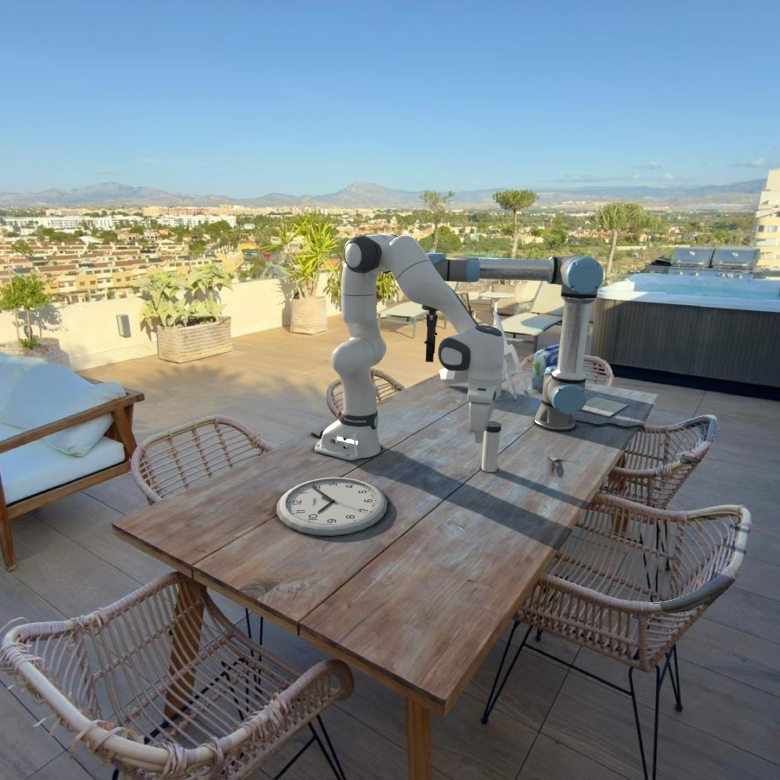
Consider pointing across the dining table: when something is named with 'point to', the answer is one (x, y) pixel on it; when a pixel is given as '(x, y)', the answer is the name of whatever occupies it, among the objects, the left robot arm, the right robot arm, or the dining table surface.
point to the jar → (490, 451)
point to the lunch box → (543, 365)
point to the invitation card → (603, 406)
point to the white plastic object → (509, 354)
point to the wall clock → (331, 506)
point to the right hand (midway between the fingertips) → (430, 357)
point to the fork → (554, 460)
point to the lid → (493, 426)
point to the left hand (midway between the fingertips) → (481, 435)
